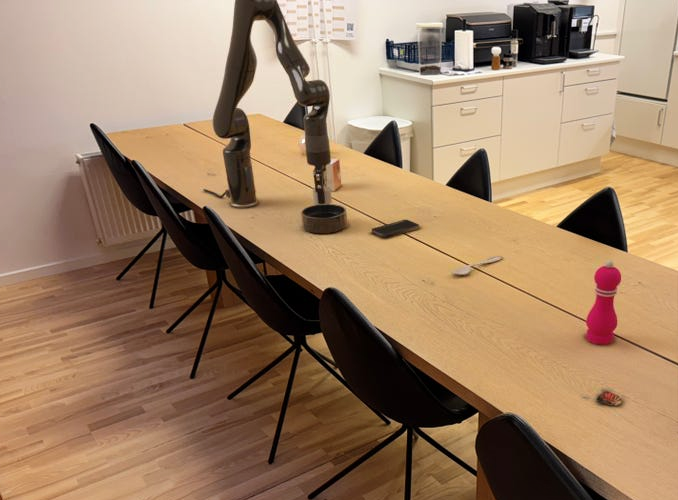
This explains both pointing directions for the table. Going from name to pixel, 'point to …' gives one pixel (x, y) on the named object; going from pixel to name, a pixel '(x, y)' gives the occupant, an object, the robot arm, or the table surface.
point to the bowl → (324, 218)
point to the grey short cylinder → (327, 196)
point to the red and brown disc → (609, 398)
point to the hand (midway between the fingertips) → (322, 200)
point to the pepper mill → (603, 305)
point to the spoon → (467, 268)
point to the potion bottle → (302, 144)
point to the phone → (395, 228)
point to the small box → (333, 174)
